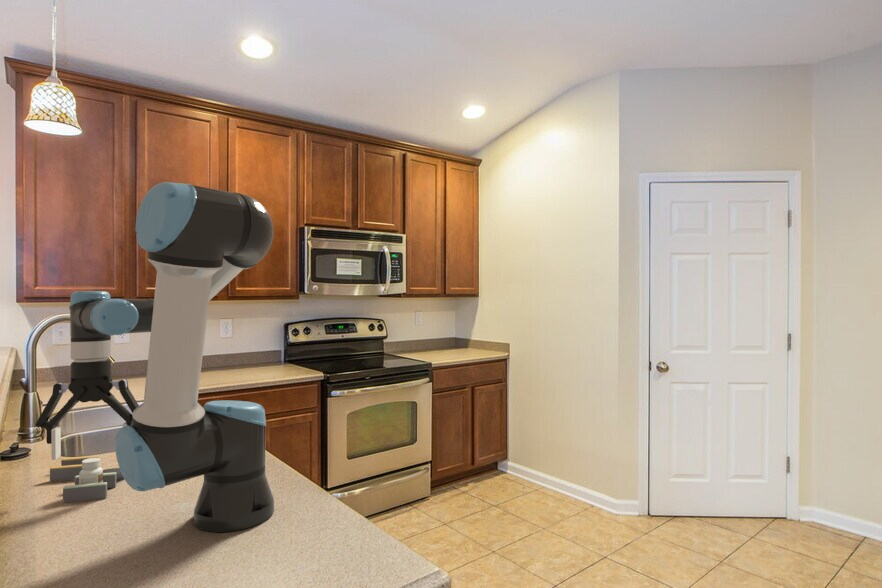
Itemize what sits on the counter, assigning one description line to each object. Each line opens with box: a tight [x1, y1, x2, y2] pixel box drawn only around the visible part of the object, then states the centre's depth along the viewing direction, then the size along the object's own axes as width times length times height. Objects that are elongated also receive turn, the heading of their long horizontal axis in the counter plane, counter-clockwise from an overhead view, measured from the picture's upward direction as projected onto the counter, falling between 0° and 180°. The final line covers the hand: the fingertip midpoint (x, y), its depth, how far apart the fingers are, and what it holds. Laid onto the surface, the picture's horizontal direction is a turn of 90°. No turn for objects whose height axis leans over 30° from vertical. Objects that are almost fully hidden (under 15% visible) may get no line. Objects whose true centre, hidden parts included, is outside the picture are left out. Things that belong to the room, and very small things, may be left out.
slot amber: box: [49, 455, 100, 483], centre depth 127 cm, size 8×8×3 cm
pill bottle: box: [79, 457, 104, 485], centre depth 115 cm, size 4×4×8 cm
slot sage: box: [62, 472, 117, 503], centre depth 115 cm, size 8×8×3 cm
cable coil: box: [103, 467, 125, 484], centre depth 124 cm, size 7×7×2 cm
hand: (91, 454), depth 114 cm, fingers open, 13 cm apart
